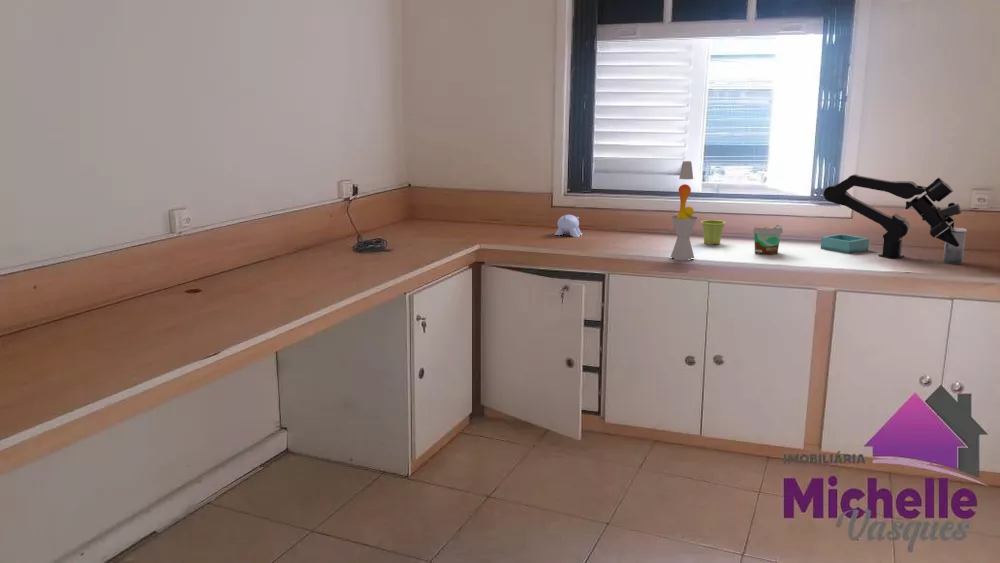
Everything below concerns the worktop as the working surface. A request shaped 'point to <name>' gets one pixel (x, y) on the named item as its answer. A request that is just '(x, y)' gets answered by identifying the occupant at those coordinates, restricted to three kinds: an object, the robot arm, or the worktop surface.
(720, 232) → the plant pot
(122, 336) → the worktop surface
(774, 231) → the food container
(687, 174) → the lava lamp
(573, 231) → the hippopotamus toy
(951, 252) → the grey can
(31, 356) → the worktop surface
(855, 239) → the teal bin
